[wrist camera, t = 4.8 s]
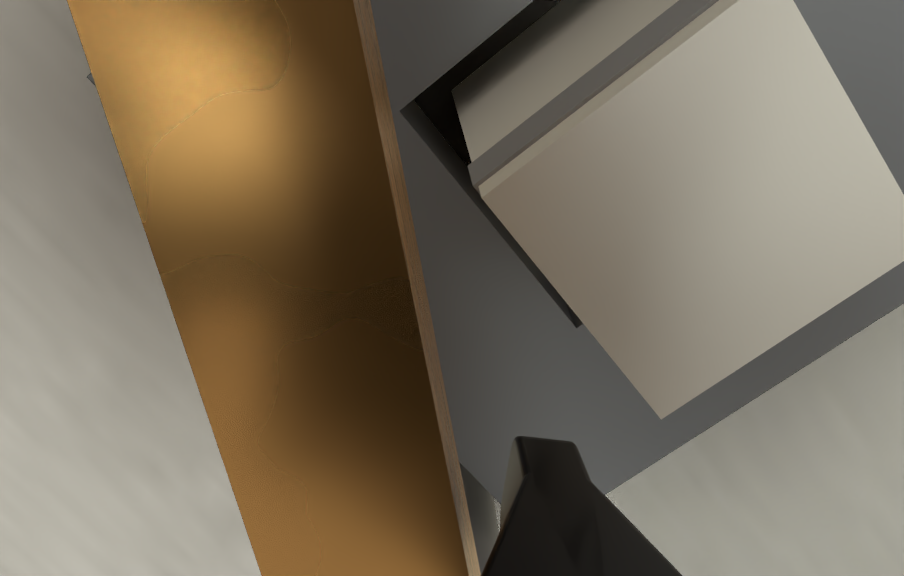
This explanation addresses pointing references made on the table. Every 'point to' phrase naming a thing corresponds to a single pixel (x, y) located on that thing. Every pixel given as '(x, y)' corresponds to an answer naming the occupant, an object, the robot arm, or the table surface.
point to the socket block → (540, 305)
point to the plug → (681, 179)
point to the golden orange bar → (290, 272)
